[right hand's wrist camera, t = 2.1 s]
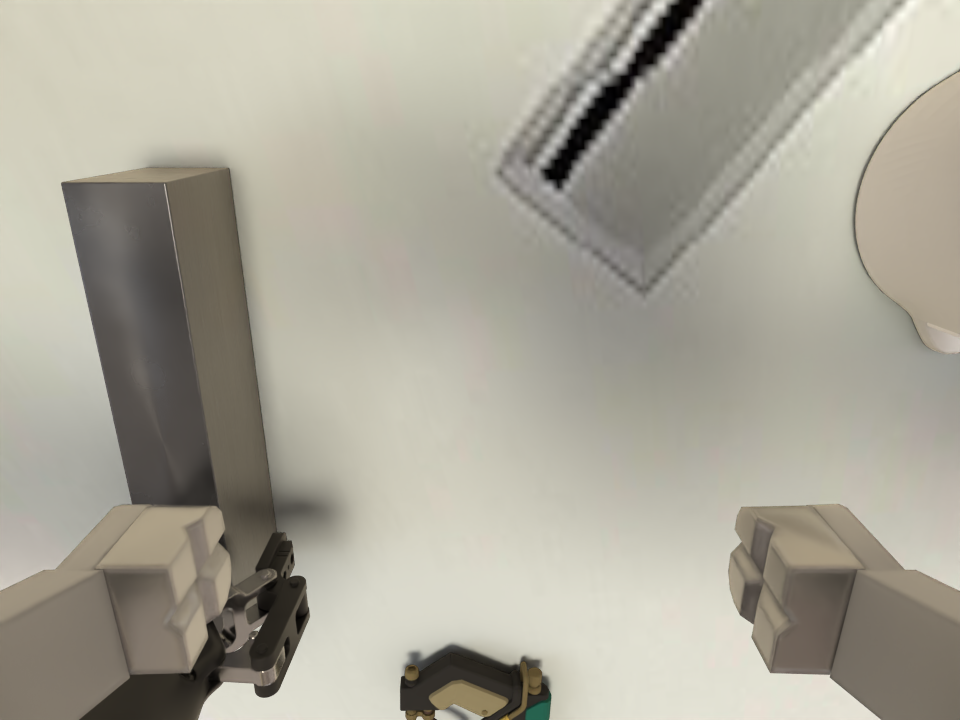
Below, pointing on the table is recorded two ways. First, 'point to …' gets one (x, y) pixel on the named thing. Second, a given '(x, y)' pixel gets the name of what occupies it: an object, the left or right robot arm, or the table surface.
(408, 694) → the spray gun
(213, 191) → the bar
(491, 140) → the table surface
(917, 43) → the table surface
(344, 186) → the table surface
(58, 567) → the right robot arm
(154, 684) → the left robot arm
